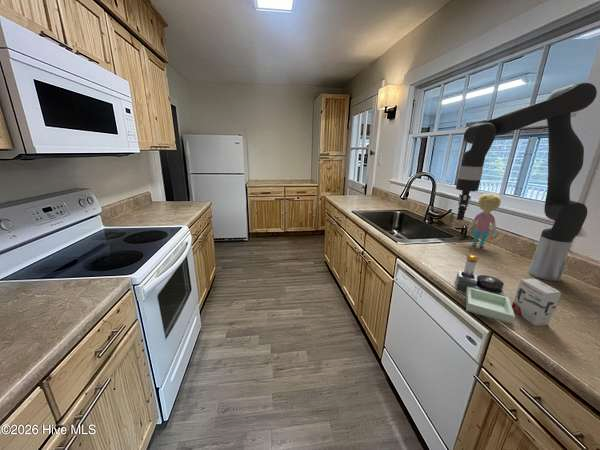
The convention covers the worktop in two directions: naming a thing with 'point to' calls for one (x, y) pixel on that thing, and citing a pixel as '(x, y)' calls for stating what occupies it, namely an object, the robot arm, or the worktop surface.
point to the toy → (485, 217)
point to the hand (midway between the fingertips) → (460, 217)
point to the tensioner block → (479, 283)
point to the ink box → (535, 301)
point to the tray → (489, 305)
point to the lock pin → (470, 266)
